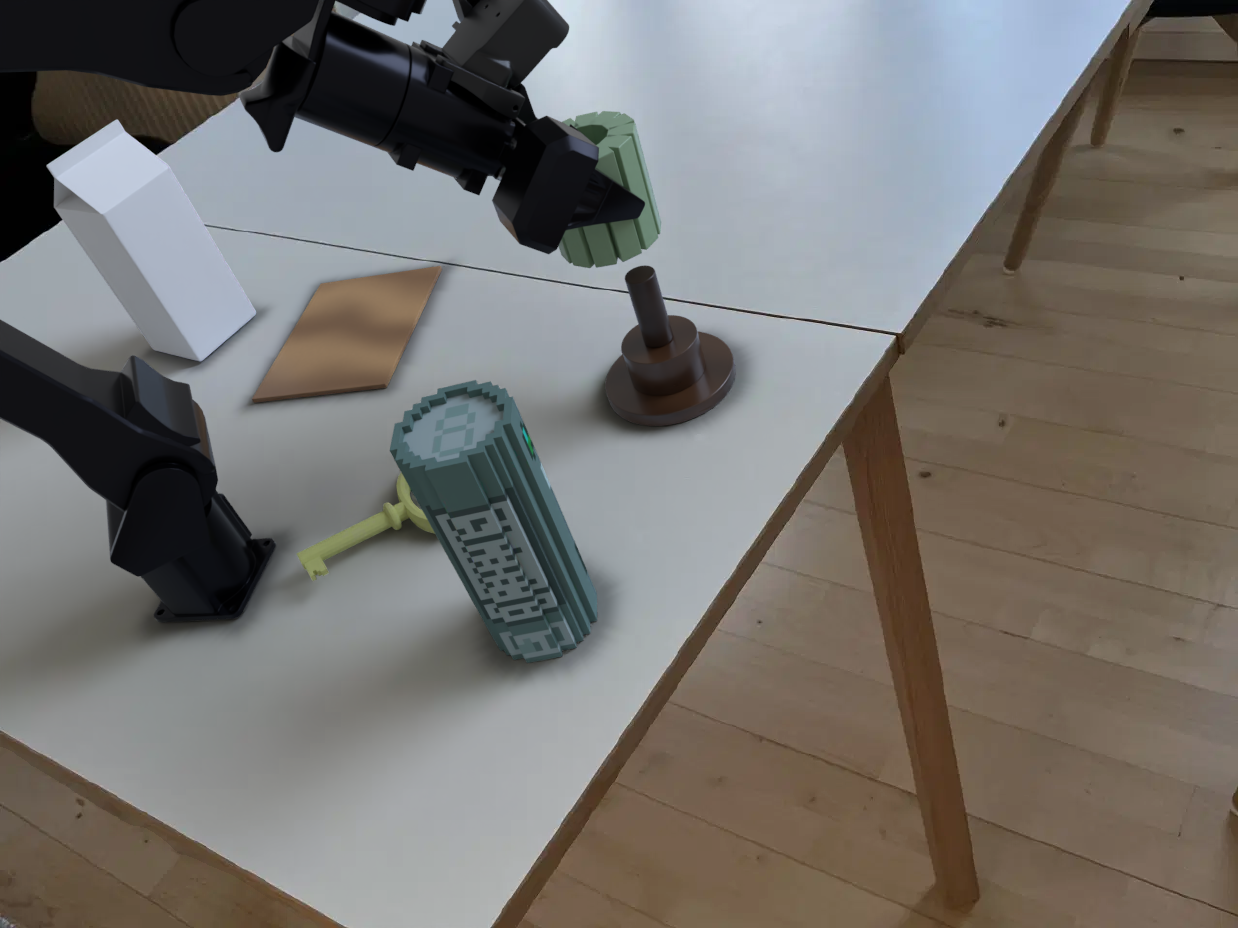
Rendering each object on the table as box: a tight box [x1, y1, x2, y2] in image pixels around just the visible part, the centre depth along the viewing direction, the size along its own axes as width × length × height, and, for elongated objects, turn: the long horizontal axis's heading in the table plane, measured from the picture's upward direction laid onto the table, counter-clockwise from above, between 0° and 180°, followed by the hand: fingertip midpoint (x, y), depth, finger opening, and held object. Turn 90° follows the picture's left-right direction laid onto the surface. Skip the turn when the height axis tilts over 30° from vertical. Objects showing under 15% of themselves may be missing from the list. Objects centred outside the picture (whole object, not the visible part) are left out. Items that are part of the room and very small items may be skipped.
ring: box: [558, 110, 662, 269], centre depth 66 cm, size 7×7×7 cm
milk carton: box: [46, 119, 257, 362], centre depth 90 cm, size 7×7×19 cm
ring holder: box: [604, 265, 737, 427], centre depth 71 cm, size 9×9×9 cm
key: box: [296, 472, 436, 582], centre depth 69 cm, size 7×12×2 cm, turn 139°
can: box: [389, 379, 598, 664], centre depth 56 cm, size 6×6×15 cm
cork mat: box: [251, 265, 443, 404], centre depth 89 cm, size 16×12×1 cm
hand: (618, 190), depth 67 cm, fingers closed on ring, 6 cm apart
